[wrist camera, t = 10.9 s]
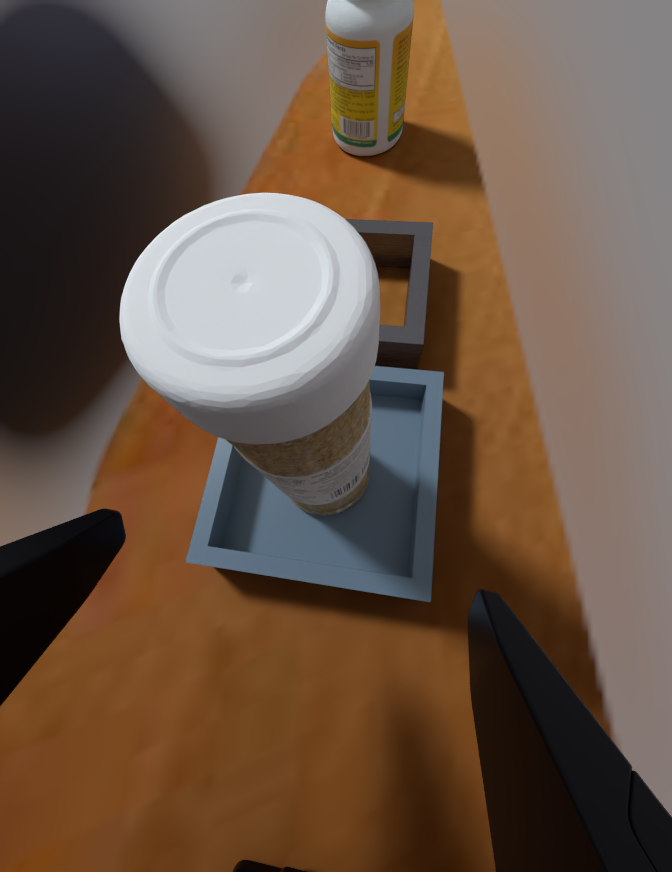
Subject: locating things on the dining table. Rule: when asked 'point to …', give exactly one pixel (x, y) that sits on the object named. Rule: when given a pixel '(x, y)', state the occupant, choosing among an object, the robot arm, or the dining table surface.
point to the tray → (349, 530)
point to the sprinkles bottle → (264, 338)
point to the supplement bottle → (368, 71)
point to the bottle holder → (412, 251)
